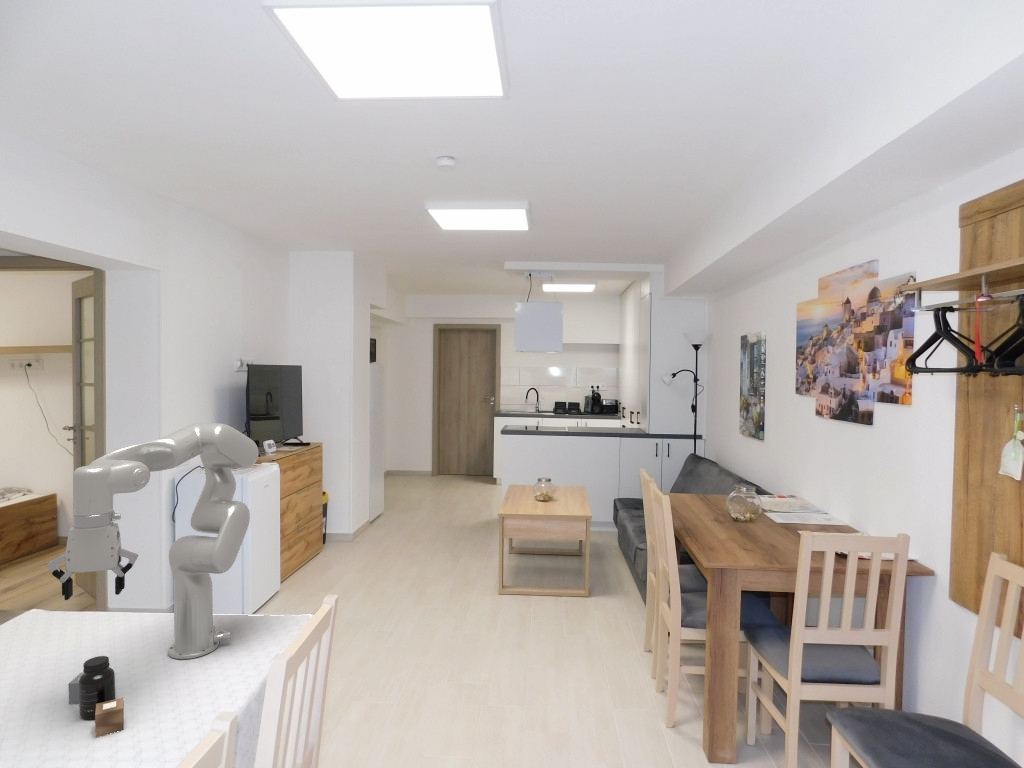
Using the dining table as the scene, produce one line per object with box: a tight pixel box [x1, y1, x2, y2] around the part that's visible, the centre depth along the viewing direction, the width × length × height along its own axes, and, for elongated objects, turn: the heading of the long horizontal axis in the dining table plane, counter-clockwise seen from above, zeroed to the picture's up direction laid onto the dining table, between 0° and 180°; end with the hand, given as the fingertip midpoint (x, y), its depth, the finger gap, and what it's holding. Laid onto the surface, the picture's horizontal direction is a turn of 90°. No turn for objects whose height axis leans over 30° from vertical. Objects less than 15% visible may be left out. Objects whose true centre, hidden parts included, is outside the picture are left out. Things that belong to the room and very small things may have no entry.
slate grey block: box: [67, 672, 84, 705], centre depth 144 cm, size 5×5×5 cm
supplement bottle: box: [78, 655, 117, 721], centre depth 138 cm, size 7×7×12 cm
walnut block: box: [94, 697, 125, 738], centre depth 132 cm, size 5×5×5 cm
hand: (94, 595), depth 137 cm, fingers open, 9 cm apart
